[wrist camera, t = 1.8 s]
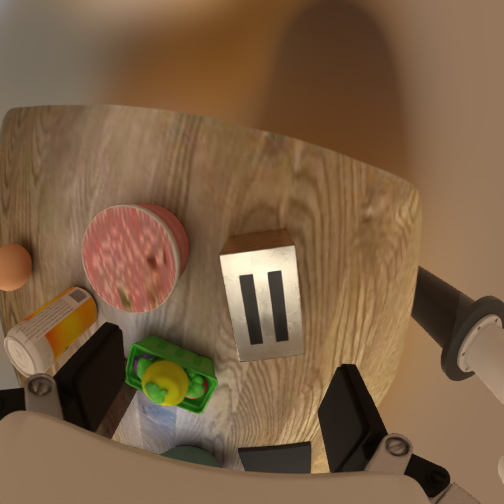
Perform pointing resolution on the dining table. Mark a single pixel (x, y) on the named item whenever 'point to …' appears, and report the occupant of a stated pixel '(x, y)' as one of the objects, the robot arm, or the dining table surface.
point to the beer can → (50, 331)
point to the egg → (14, 267)
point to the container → (135, 255)
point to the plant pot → (192, 456)
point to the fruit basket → (171, 374)
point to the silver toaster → (263, 294)
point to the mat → (278, 458)
